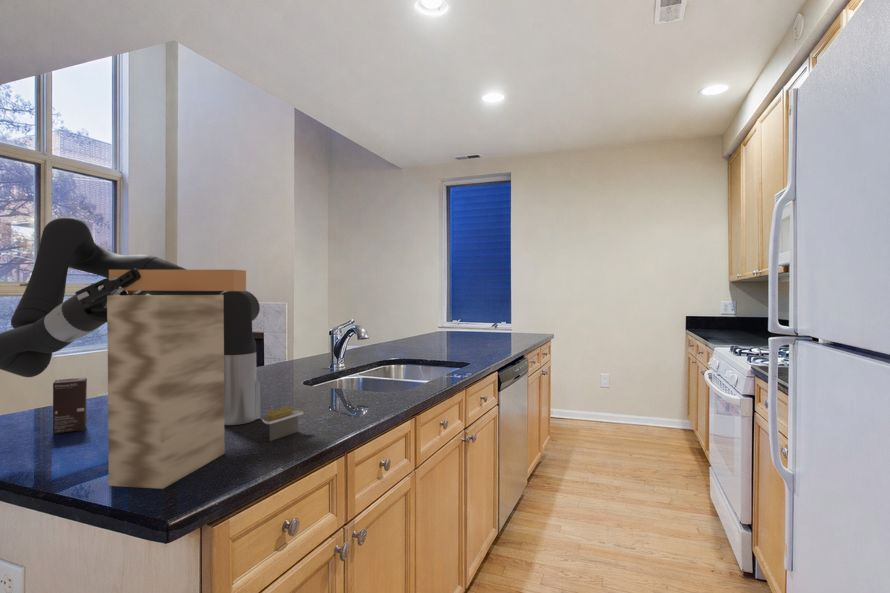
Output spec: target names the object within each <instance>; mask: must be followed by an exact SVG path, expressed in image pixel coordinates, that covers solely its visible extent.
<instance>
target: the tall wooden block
mask: <svg viewBox="0 0 890 593" xmlns="http://www.w3.org/2000/svg"><path fill="white" fill-rule="evenodd" d="M106 323H107V325H106V326H107V327H106V328H107V333H106V334H107V419H108V421H107V425H108V426H107V427H108V428H107V430H108V432H107V434H108V435H107V437H108V438H107V440H108V446H107V447H108V452H107V453H108V486H109V487H127V488H142V489H158V490H159V489H161V490H163V489H165V488H167V487H169V486H171V485H172V484H174V483H176V482H178V481H179V480H180V479H183V478H184V477H186V476H188V475H190V474H191V473H193V472H195V471H197V470H199V469H200V468H202V467H203V466H205V465H207V464H209V463H210V462H212V461H214V460H216V459H217V458H219V457H221V456H223V455H224V454H226V453H225V452H226V450H225V449H226V448H225V442H226V441H225V425H224V298H223V295H150V294H146V295H114V296H107V322H106Z"/></svg>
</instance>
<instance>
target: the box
mask: <svg viewBox="0 0 890 593" xmlns="http://www.w3.org/2000/svg"><path fill="white" fill-rule="evenodd" d="M87 381H88V379H87V377H78V378H67V379H66V378H64V379H55V380H54V382H53V383H52V434H53V435H57V434H62V433H69V432H77V431H85V430H86V427H87V395H88V394H87V389H88V388H87V385H88V383H87Z"/></svg>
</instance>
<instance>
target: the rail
mask: <svg viewBox="0 0 890 593" xmlns="http://www.w3.org/2000/svg"><path fill="white" fill-rule="evenodd" d="M128 271H130V270H109V281H110V280H112V279H113V278H115V277H120V276H122V275H123V274H125V273H126V272H128ZM138 272H139V273H140V275H141V278H140V279H139V280H137V281H136V282H134V283H132V284H131V285H129V286H128V287H124V288H125V289H124V290H126V291H127V290H134V291H247V270H243V269H187V270H138Z"/></svg>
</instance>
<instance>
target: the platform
mask: <svg viewBox="0 0 890 593" xmlns="http://www.w3.org/2000/svg"><path fill="white" fill-rule="evenodd" d="M293 407H294V406H290V407H288V405H286V406H282V407H277V408H275V409H274V408H273V409H272V410H267V416H264V417H263V418H262V419H261V420H262V422H263V423H264V424H265V425H269V441H270V442H272V441H275V440H277V439H281V438H285V437H286V436H289V435H292V434H296V433H297V432H298V431H299V428H298V427H299V426H298V425H299V423H298V422H299V418H298V417H299V416H302V415H304V411H303V410H293Z"/></svg>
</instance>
